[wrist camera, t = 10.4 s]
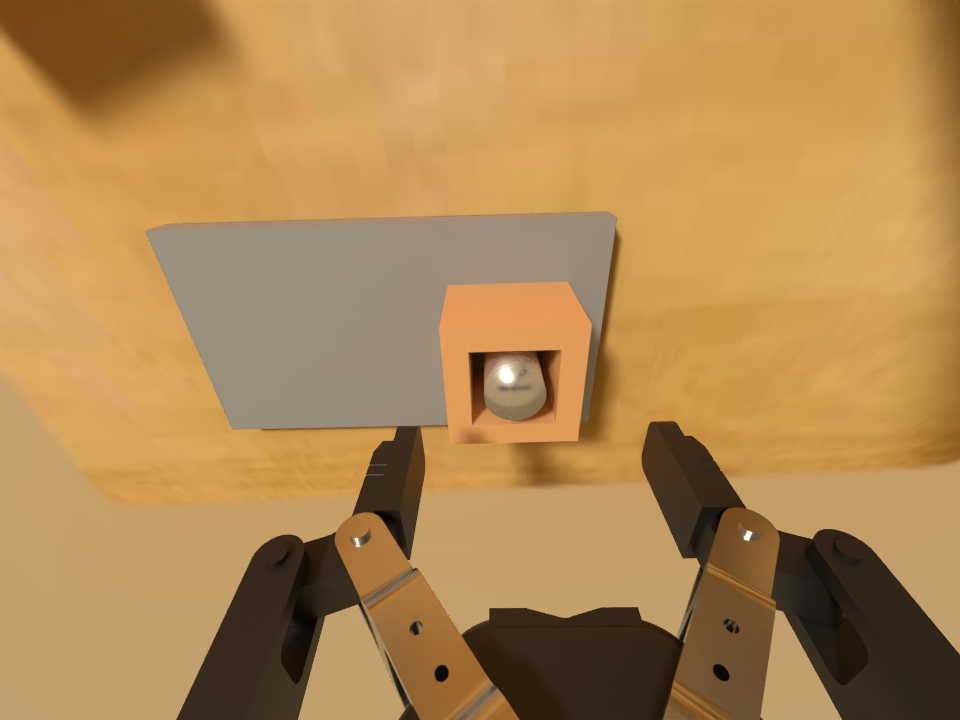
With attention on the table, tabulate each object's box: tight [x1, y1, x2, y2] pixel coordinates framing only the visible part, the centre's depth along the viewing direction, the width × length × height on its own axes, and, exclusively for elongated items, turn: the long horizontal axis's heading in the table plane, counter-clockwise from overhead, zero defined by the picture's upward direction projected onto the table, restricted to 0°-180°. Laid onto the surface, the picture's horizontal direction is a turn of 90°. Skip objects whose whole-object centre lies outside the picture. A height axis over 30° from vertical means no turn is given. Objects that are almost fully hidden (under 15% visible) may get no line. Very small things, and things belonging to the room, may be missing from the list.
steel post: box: [484, 351, 546, 420], centre depth 20 cm, size 3×3×7 cm
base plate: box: [145, 212, 617, 430], centre depth 22 cm, size 12×22×2 cm, turn 92°
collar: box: [439, 282, 592, 444], centre depth 19 cm, size 6×6×5 cm
